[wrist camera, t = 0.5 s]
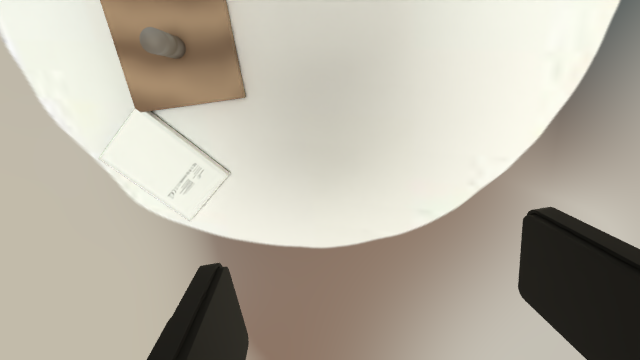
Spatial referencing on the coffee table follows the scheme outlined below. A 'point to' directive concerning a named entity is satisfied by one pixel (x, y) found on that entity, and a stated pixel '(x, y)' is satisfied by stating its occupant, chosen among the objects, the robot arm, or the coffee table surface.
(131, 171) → the external hard drive
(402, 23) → the coffee table surface
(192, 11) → the shaft block
